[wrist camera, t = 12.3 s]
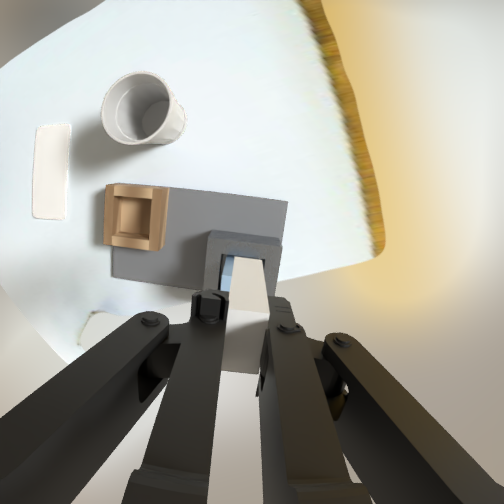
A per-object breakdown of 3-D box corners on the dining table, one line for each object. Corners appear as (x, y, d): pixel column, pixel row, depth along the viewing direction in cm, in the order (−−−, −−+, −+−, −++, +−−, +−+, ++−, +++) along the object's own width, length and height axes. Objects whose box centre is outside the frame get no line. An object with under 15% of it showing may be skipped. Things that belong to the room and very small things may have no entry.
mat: (115, 275, 45) (113, 277, 44) (118, 182, 41) (116, 183, 40) (272, 296, 46) (272, 299, 45) (287, 201, 42) (288, 201, 41)
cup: (159, 162, 41) (128, 160, 29) (127, 121, 39) (88, 108, 27) (204, 124, 39) (188, 108, 28) (170, 84, 38) (144, 57, 26)
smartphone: (71, 123, 38) (65, 220, 42) (73, 123, 39) (67, 219, 43) (36, 126, 38) (32, 217, 42) (39, 127, 39) (34, 217, 42)
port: (206, 291, 45) (201, 305, 40) (212, 229, 42) (207, 237, 37) (269, 298, 45) (271, 314, 40) (278, 237, 43) (282, 246, 38)
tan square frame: (113, 238, 42) (103, 244, 39) (116, 183, 40) (105, 184, 37) (164, 244, 43) (157, 251, 39) (169, 187, 41) (162, 189, 37)
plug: (225, 278, 44) (218, 309, 34) (228, 250, 42) (222, 275, 33) (253, 281, 44) (255, 313, 34) (257, 254, 43) (259, 279, 33)
